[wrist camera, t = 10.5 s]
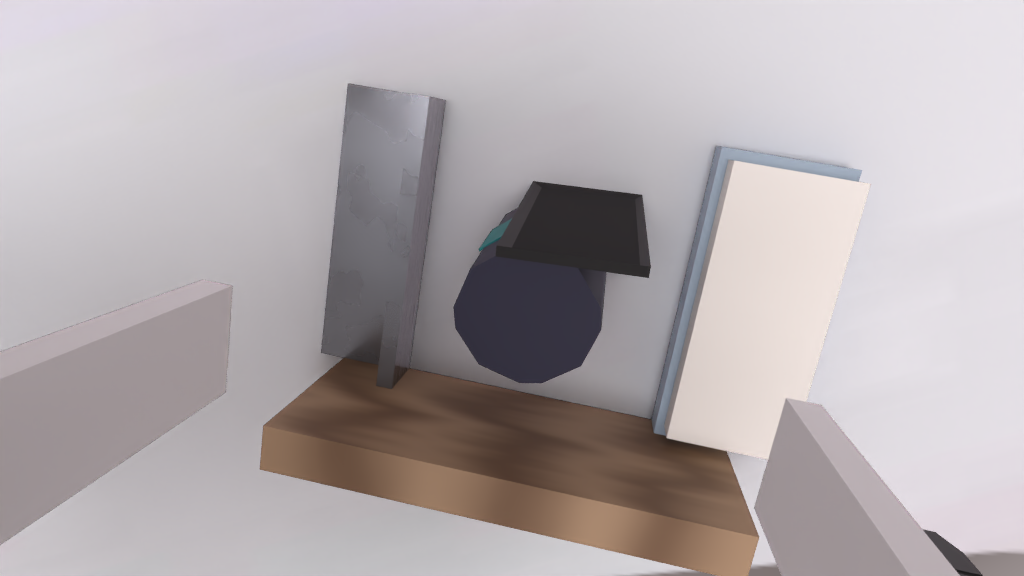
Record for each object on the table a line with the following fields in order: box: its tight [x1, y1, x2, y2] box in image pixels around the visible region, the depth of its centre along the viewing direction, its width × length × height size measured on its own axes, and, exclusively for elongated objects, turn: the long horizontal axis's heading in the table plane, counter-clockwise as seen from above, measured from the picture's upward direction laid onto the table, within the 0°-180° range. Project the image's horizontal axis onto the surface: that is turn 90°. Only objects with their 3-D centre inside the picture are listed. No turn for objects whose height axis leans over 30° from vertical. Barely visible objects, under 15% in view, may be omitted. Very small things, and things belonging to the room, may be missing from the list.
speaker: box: [453, 181, 651, 383], centre depth 28 cm, size 8×6×10 cm
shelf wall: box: [260, 358, 759, 576], centre depth 31 cm, size 20×2×9 cm, turn 80°
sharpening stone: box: [652, 146, 871, 460], centre depth 31 cm, size 6×14×3 cm, turn 170°
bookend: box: [321, 84, 446, 389], centre depth 32 cm, size 5×14×3 cm, turn 170°
